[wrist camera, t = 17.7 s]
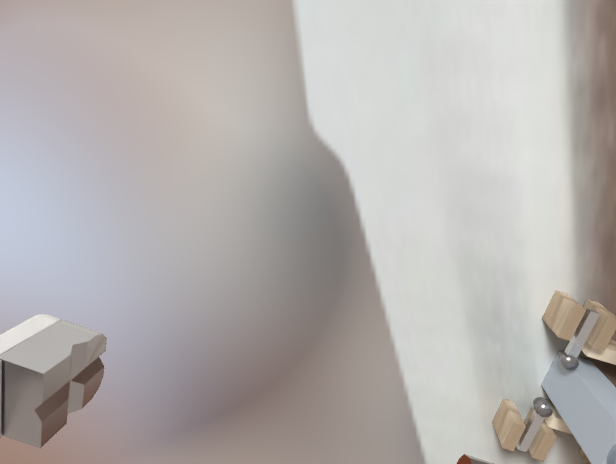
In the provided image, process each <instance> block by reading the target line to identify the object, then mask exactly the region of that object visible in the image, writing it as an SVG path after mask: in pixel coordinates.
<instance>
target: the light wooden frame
mask: <svg viewBox="0 0 616 464" xmlns="http://www.w3.org/2000/svg"><path fill="white" fill-rule="evenodd" d="M587 308H588V309H592V310H595V311H597V312H598V313H600V316H599V318H598V320H597V321H596V323H595V325H594V327H593V329H592V331H591V333H590V335H589V336H588V338H587V340H586V342H585V344H584V346H583V348H582V351H583V353H584V354H585V355H586V356H588V357H591V358H594V359H598V360H601V361H604V362H608V363H611V364H615V365H616V341H614V340H611V338H612V336H613V334H614V332H615V331H616V316H615V315H614V314H612V313H611V312H610V311H608V310H607V309H606V308H605V307H603V306H602V305H601V304H600V303H598V302H595V301H591V300H588V299H587V300H586V302H585V304H584V306H583V307H582V306H580V305H579V304H578V303H577V302H576V301H575V300H574V299H572V298H571V297H570V296H569V295H568V294H566V293H563V292H559V291H555V293H554V295H553V297H552V299H551V301H550V303H549V305H548V307H547V309H546V312H545V314H544V316H543V318H542V319H543V320H544V321H545V323H546V324H547V325H548V326H549V327H550V328H551V330H552V331H553V332H554V333H555V334H556V335H557V336H558V338H562V339H565V340H569V341H571V339H572V337H573V335H574V333H575V331H576V329H577V327H578V325H579V323H580V321H581V319H582V317H583V316H584V314H585V312H586V309H587ZM547 402H548V404H549V405H550V407H551V408H552V410H553V413H552V415H551V416H550V417H546V418H545V419H544V421H543V422H542V424H541V426H540V428H539V430H538V432H537V434H536V436H535V438H534V439H533V441H532V443H531V445H530V447H529V452H530V454H531V456H532V458H534V459H538V460H541V461H544V459H545V457H546V456H547V454H548V452H549V450H550V448H551V447H552V445H553V443H554V441H555V439H556V437H557V436H556V434H555V433H554V431H553V429H556V430H559V431H562V432H565V433H569V434H572V432H571V431H570V429H569V428H568V426H567V425H566V423H565V421H564V420H563V418H562V417H561V415H560V414H559V412H558V411H557V409H556V407H555V406H554V404H553V403H552V402H551V401H547ZM533 411H534V408H531V410H530V412H529V414H528V416H527V418H526V420H525V421H524V422H523V420H522V418H521V416H520V414H519V412H518V410H517V408H516V406H515V404H514V402H512V401H509V400H506V399H503V401H502V403H501V405H500V407H499V409H498V411H497V413H496V416H495V418H494V420H493V425H494V428H495V430H496V433H497V435H498V438H499V440H500V443H501V445H502V448H504V449H507V450H510V451H514V449H515V447H516V445H517V443H518V441H519V439H520V438H521V436H522V434H523V432H524V430H525V428H526V424H527V422H528V420H529V418H530V416H531V414H532V413H533ZM552 428H553V429H552ZM572 435H573V434H572ZM579 453H580V454H581V456H582V458H583V459H584V461H585V462H586V464H591V462H590V461H589V459H588V457H587V456H586V454H585V453H584V451H583V450H582V449H581V451H580V452H579Z"/></svg>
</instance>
